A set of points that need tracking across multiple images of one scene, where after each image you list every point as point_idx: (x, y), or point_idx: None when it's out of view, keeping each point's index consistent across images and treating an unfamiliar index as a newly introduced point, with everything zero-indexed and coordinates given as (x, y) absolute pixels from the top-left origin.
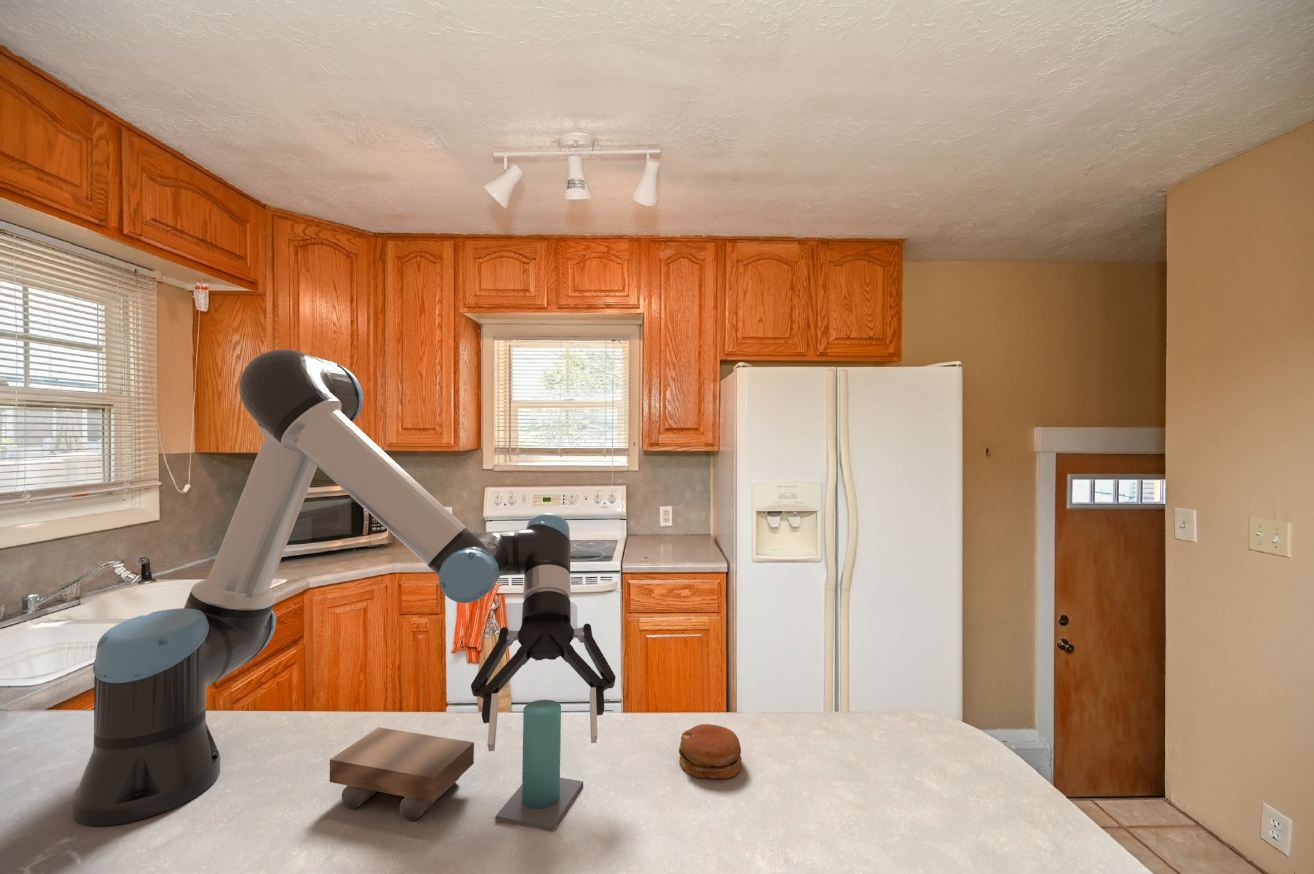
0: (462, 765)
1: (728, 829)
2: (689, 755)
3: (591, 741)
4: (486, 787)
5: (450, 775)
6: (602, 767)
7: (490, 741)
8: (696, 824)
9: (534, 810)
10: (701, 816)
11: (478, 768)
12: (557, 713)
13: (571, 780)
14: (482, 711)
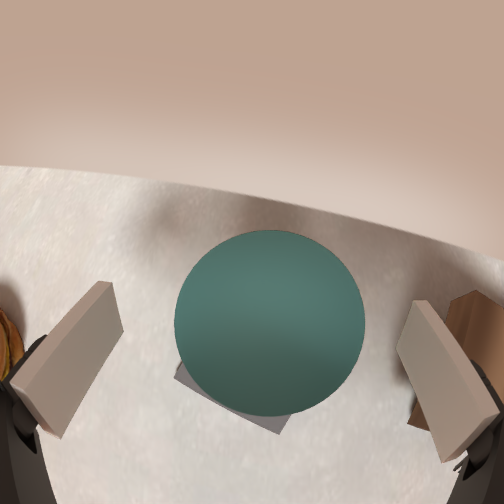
0: None
1: (37, 216)
2: (1, 336)
3: (120, 320)
4: (365, 409)
5: None
6: (132, 423)
7: (423, 305)
8: (56, 230)
9: None
10: (45, 244)
11: (379, 467)
12: (200, 261)
13: (196, 388)
14: (485, 378)
